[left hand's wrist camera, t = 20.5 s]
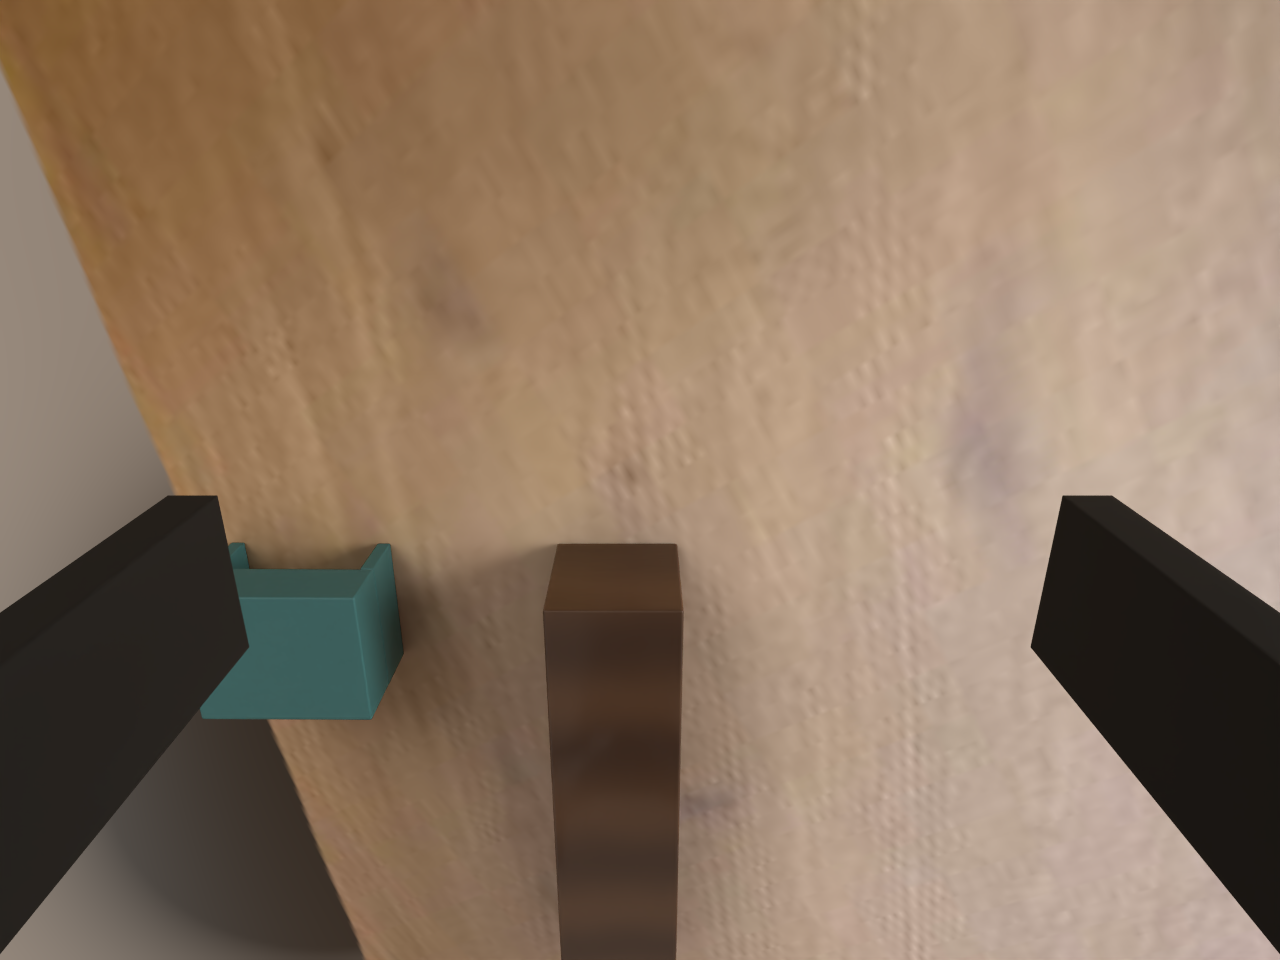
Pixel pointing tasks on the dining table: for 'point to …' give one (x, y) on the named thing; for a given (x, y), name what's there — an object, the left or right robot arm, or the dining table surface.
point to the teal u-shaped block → (312, 642)
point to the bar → (615, 746)
